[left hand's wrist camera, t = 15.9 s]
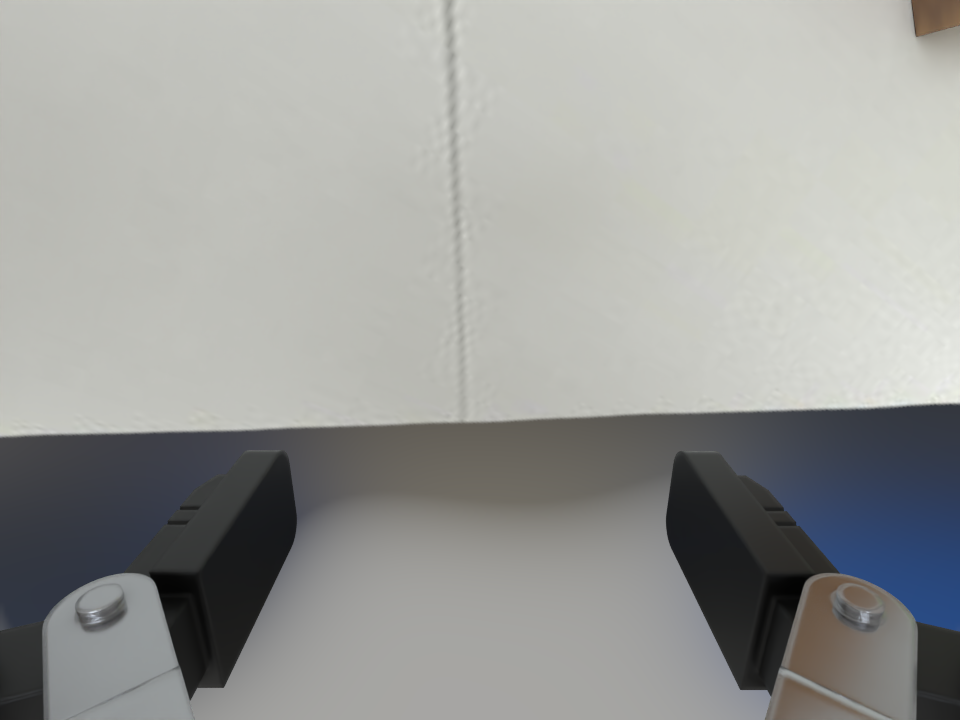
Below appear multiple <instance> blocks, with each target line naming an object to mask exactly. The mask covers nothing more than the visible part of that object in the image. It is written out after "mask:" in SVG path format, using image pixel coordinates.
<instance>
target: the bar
mask: <svg viewBox="0 0 960 720" xmlns="http://www.w3.org/2000/svg"><path fill="white" fill-rule="evenodd" d="M912 6H913V14H914V22H915V30H916V36H917V37H918V36H921V35H925V34H929V33H932V32H936V31H940V30H944V29H947V28H951V27H955V26H958V25H960V0H912Z"/></svg>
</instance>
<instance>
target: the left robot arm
mask: <svg viewBox="0 0 960 720" xmlns="http://www.w3.org/2000/svg"><path fill="white" fill-rule="evenodd" d="M296 525H297V515H296V507H295V500H294V493H293V486H292V479H291V471H290V464H289V459H288V456H287V453H286V452H285V451H282V450H248V451H245V452H244V453H243V454H242V455H241V456H240V458H239V459H238V460H237V461H236V463H235V464H234V465H233V467H232V468H231V469H230V470H229V472H228V473H227V474H226V475H217V476H215V477H213V478H212V479H210V480H209V481H207V482H206V483H204V484H202V485H201V486H199V487H198V488H196V489H195V490H194V491H193V492H192V493H191V495H190V496H189V497H188V498H187V499H186V501H185V502H184V503H183V504H182V505H181V506H180V510H177V511H176V512H175V513H174V514H173V516H172V517H171V518H170V519H169V520H168V524H167V525H164V526H163V527H162V528H161V530H160V531H159V532H158V533H157V534H156V535H155V537H154V538H153V539H152V540H151V541H150V543H149V544H148V545H147V546H146V547H145V548H144V550H143V551H142V552H141V553H140V554H139V555H138V557H137V558H136V559H135V560H134V561H133V562H132V564H131V565H130V566H129V567H128V568H127V570H126V571H125V572H124V573H123V574H116V575H112V576H107V577H104V578H101V579H98V580H96V581H93V582H91V583H88V584H87V585H84V586H83V587H81V588H79V589H77V590H75V591H74V592H72V593H71V594H69V595H68V596H66V597H65V598H64V599H63V600H61V601H60V602H59V603H58V604H57V605H56V606H55V607H54V608H53V609H52V610H51V611H50V613H49V614H48V616H47V617H46V619H45V621H42V622H37V623H33V624H28V625H24V626H20V627H15V628H11V629H6V630H2V631H0V720H195V717H194V714H193V710H192V707H191V704H190V700H191V698H192V696H193V695H194V693H195V691H196V689H197V688H224V686H225V684H226V682H227V680H228V678H229V676H230V674H231V672H232V670H233V668H234V666H235V664H236V661H237V659H238V657H239V655H240V653H241V651H242V649H243V647H244V645H245V643H246V641H247V639H248V637H249V634H250V632H251V630H252V628H253V626H254V624H255V622H256V620H257V618H258V616H259V614H260V611H261V609H262V607H263V605H264V603H265V601H266V599H267V597H268V595H269V593H270V591H271V589H272V587H273V585H274V582H275V580H276V578H277V576H278V574H279V572H280V570H281V568H282V566H283V564H284V562H285V560H286V557H287V555H288V553H289V551H290V549H291V547H292V545H293V542H294V538H295V533H296ZM666 529H667V535H668V540H669V543H670V546H671V549H672V550H673V553H674V555H675V557H676V559H677V561H678V563H679V565H680V567H681V569H682V571H683V573H684V575H685V577H686V579H687V581H688V583H689V585H690V587H691V590H692V592H693V594H694V596H695V598H696V600H697V602H698V604H699V606H700V608H701V610H702V612H703V614H704V616H705V618H706V620H707V622H708V624H709V627H710V629H711V631H712V633H713V635H714V637H715V639H716V641H717V643H718V645H719V647H720V649H721V651H722V653H723V655H724V657H725V659H726V661H727V663H728V666H729V668H730V670H731V672H732V674H733V676H734V678H735V680H736V682H737V684H738V686H739V688H740V690H768V692H769V694H770V696H771V700H770V703H769V707H768V710H767V714H766V717H765V720H960V632H958V631H954V630H949V629H945V628H941V627H937V626H932V625H928V624H923V623H920V622H916V621H915V619H914V617H913V616H912V614H911V613H910V611H909V610H908V609H907V608H906V607H905V606H904V605H903V604H902V603H901V602H900V601H899V600H898V599H896V598H895V597H894V596H892V595H891V594H889V593H888V592H886V591H885V590H883V589H881V588H879V587H877V586H876V585H874V584H872V583H869V582H867V581H864V580H862V579H859V578H856V577H853V576H848V575H844V574H840V573H839V572H838V570H837V569H836V568H835V567H834V566H833V565H832V564H831V562H830V561H829V560H828V559H827V558H826V556H825V555H824V554H823V553H822V552H821V551H820V550H819V548H818V547H817V546H816V545H815V544H814V543H813V541H812V540H811V539H810V538H809V537H808V536H807V534H806V533H805V532H804V531H803V530H802V529H801V527H800V526H796V522H795V520H794V519H793V518H792V517H791V516H790V515H789V514H788V512H787V511H784V508H783V507H782V505H781V504H780V503H779V502H778V501H777V500H776V498H775V497H774V496H773V495H772V494H771V493H770V491H769V490H767V489H766V488H764V487H762V486H761V485H759V484H758V483H756V482H755V481H753V480H752V479H750V478H748V477H747V476H737V475H736V473H735V472H734V471H733V470H732V468H731V467H730V466H729V465H728V463H727V462H726V461H725V460H724V458H723V457H722V456H721V455H720V454H719V453H718V452H716V451H680V452H678V453H677V454H676V457H675V459H674V464H673V471H672V479H671V486H670V493H669V500H668V507H667V514H666Z"/></svg>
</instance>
